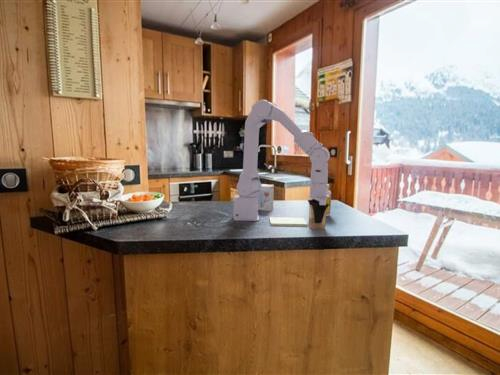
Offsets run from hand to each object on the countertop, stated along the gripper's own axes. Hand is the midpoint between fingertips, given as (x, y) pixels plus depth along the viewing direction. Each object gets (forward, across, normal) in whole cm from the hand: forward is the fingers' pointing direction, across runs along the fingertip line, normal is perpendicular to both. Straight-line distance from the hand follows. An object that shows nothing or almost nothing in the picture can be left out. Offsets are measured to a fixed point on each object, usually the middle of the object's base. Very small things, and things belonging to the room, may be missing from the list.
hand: (316, 221), depth 103 cm
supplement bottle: (+2, +18, -6) cm, 19 cm away
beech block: (+2, 0, 0) cm, 2 cm away
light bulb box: (+2, +28, +19) cm, 34 cm away
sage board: (+2, +5, +10) cm, 11 cm away
